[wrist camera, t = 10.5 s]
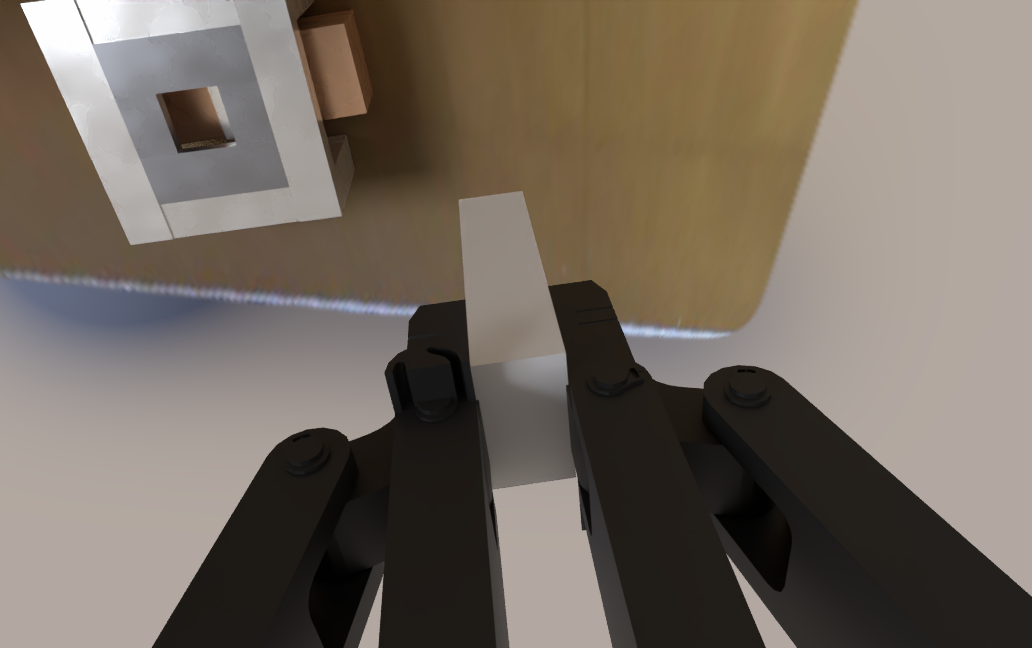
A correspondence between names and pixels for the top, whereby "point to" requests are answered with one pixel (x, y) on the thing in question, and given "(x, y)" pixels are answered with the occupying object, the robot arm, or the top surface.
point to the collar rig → (190, 65)
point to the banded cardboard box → (330, 66)
